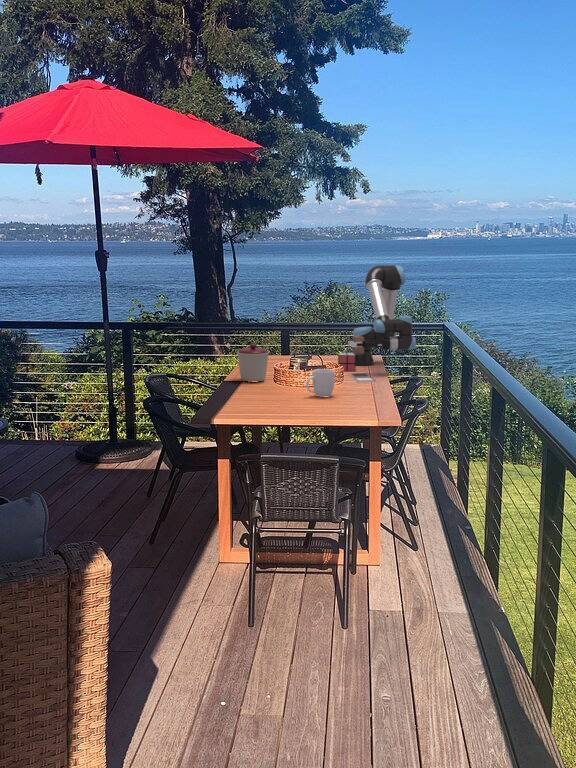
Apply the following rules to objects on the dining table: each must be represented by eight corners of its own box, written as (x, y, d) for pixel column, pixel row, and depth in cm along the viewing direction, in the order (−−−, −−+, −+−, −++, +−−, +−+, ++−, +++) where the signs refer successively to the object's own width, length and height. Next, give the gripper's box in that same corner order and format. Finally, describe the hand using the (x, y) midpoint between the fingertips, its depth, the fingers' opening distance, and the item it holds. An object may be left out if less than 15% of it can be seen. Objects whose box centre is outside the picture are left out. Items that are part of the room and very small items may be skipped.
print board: (352, 378, 451) (352, 377, 451) (371, 378, 453) (371, 377, 453) (357, 382, 440) (357, 380, 440) (376, 381, 442) (376, 380, 442)
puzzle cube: (355, 371, 475) (355, 355, 473) (338, 371, 475) (338, 355, 474) (354, 369, 485) (354, 352, 483) (337, 369, 485) (338, 352, 483)
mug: (311, 399, 392) (311, 373, 390) (301, 395, 402) (302, 370, 400) (338, 397, 398) (338, 371, 396) (328, 393, 408) (328, 368, 406)
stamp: (353, 353, 461) (353, 336, 459) (361, 353, 461) (362, 336, 460) (355, 355, 456) (355, 337, 454) (363, 354, 457) (364, 337, 455)
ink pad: (350, 375, 461) (350, 373, 461) (365, 375, 462) (365, 373, 462) (353, 378, 452) (353, 376, 452) (369, 378, 454) (369, 375, 453)
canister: (268, 384, 432) (268, 345, 429) (235, 383, 433) (234, 345, 429) (270, 378, 450) (270, 341, 446) (238, 378, 451) (238, 341, 447)
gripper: (393, 351, 452) (353, 352, 449) (384, 347, 470) (346, 348, 466) (393, 338, 451) (353, 339, 447) (384, 335, 468) (346, 335, 465)
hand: (349, 344), depth 457 cm, fingers closed on stamp, 5 cm apart
